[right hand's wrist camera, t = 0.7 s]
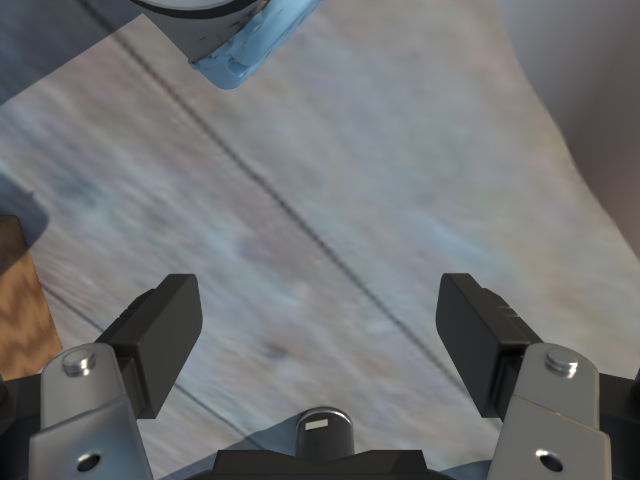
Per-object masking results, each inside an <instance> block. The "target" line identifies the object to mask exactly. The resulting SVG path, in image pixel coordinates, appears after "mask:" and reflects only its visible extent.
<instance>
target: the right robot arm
mask: <svg viewBox="0 0 640 480" xmlns="http://www.w3.org/2000/svg"><path fill="white" fill-rule="evenodd" d="M202 322H203V317H202V309H201V302H200V295H199V289H198V282H197V278H196V276H195V275H194V274H169V275H168V276H167V277H166V278H165V279H164V280H163V281H162V282H161V283H160V284H159V286H158V287H157V288H156V289H151V290H149V291H147V292H145V293H144V294H142V295H140V296H139V297H137V298H136V299H135V300H134V301H133V302H132V303H131V304H130V305H129V306H128V309H125V311H124V312H123V313H122V314H121V315H120V317H119V318H117V319H116V320H115V321H114V322H113V323H112V324H111V325H110V326H109V327H108V328H107V329H106V330H105V331H104V332H103V333H102V334H101V335H100V337H99V338H98V339H97V340H96V341H95V342H94V343H88V344H83V345H80V346H76V347H74V348H71V349H69V350H67V351H64V352H63V353H61V354H59V355H57V356H56V357H54V358H53V359H52V360H51V361H49V362H48V363H47V364H46V366H45V367H44V368H43V370H42V372H41V373H40V374H35V375H31V376H26V377H21V378H16V379H11V380H6V381H4V380H3V378H2V375H1V373H0V480H154V479H153V475H152V472H151V469H150V465H149V462H148V459H147V455H146V452H145V449H144V446H143V442H142V439H141V436H140V432H139V429H138V426H137V422H136V420H137V419H156V417H157V415H158V413H159V411H160V409H161V407H162V405H163V403H164V402H165V400H166V398H167V396H168V394H169V392H170V390H171V388H172V386H173V384H174V383H175V381H176V379H177V377H178V375H179V373H180V371H181V369H182V367H183V366H184V364H185V362H186V360H187V358H188V356H189V354H190V352H191V350H192V348H193V347H194V345H195V343H196V341H197V339H198V337H199V335H200V333H201V329H202ZM436 327H437V331H438V334H439V336H440V338H441V340H442V342H443V344H444V346H445V348H446V350H447V351H448V353H449V355H450V357H451V359H452V361H453V363H454V365H455V367H456V369H457V371H458V373H459V374H460V376H461V378H462V380H463V382H464V384H465V386H466V388H467V390H468V392H469V394H470V396H471V397H472V399H473V401H474V403H475V405H476V407H477V409H478V411H479V413H480V415H481V417H482V418H500V419H501V421H502V422H503V426H502V429H501V432H500V436H499V439H498V442H497V446H496V449H495V452H494V455H493V459H492V462H491V465H490V469H489V472H488V475H487V479H486V480H640V368H639V371H638V373H637V375H636V378H635V380H631V379H626V378H622V377H617V376H612V375H607V374H602V373H599V372H598V370H597V368H596V367H595V366H594V364H593V363H592V362H591V361H589V360H588V359H587V358H586V357H584V356H583V355H581V354H579V353H577V352H576V351H573V350H571V349H569V348H566V347H564V346H560V345H557V344H552V343H544V342H543V341H542V340H541V339H540V338H539V337H538V335H537V334H536V333H535V332H534V331H533V330H532V329H531V328H530V327H529V326H528V325H527V324H526V323H525V322H524V321H523V320H522V319H521V318H520V317H518V314H517V313H516V312H515V311H514V310H513V309H510V306H509V305H508V304H507V303H506V302H505V301H504V300H503V299H502V298H501V297H500V296H499V295H497V294H495V293H493V292H492V291H490V290H488V289H486V288H482V287H481V286H480V285H479V284H478V283H477V282H476V281H475V280H474V279H473V277H472V276H471V275H470V274H468V273H444V274H443V275H442V278H441V282H440V289H439V296H438V303H437V310H436ZM184 480H456V479H454V478H452V477H450V476H448V475H445V474H442V473H440V472H437V471H434V470H431V469H427V466H426V463H425V459H424V456H423V453H422V450H370V451H366V452H362V453H358V454H355V450H354V439H353V424H352V421H351V419H350V418H349V416H348V415H347V414H345V413H344V412H342V411H341V410H338V409H336V408H331V407H318V408H314V409H311V410H309V411H307V412H305V413H304V414H303V415H302V416H301V417H300V418H299V419H298V421H297V424H296V444H295V456H294V457H293V456H289V455H286V454H282V453H278V452H274V451H270V450H218V453H217V456H216V459H215V463H214V466H213V469H209V470H206V471H203V472H200V473H198V474H195V475H192V476H190V477H188V478H186V479H184Z"/></svg>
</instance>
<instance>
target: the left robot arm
mask: <svg viewBox="0 0 640 480" xmlns="http://www.w3.org/2000/svg"><path fill="white" fill-rule="evenodd" d="M127 1H128V2H130V3H131V4H132V5H134V6H135V7H136V8H137V9H139V10H140V11H141V12H142V13H143V14H145V15H146V16H147V17H148V18H149V19H150V20H151V21H152V22H153V23H154V24H155V25H156V26H157V27H158V28H159V29H160V30H161V31H162V32H163V33H164V34H165V35H166V36H167V37H168V38H169V39H170V40H171V41H172V42H173V43H174V44H175V45H176V46H177V47H178V48H179V49H180V50H181V51H182V52H183V54H184V55H185V56H186V57H187V58H188V59H189V60H188V62H189V64H190V65H191V67H192V68H193V69H194V70H199V71H200V72H201V73H202V74H203V75H204V76H205V77H206V78H208V79H209V80H210V81H211V82H212V83H213V84H214V85H215V86H217V87H219V88H221V89H226V90H227V89H233V88H236V87H238V86H239V85H240V84H242V83H243V82H244V81H245V80H246V79H247V78H248V77H250V76H251V75H252V74H253V73H254V72H255V71H256V70H257V69H258V68H259V67H260V66H261V65H262V64H263V63H264V62H265V61H266V60H267V59H268V58H269V57H270V56H271V55H272V54H273V53H274V52H275V51H276V50H277V49H278V48H279V47H280V46H281V45H282V44H283V43H284V42H285V41H286V40H287V39H288V38H289V37H290V35H291V34H292V33H293V32H294V31H295V30H296V29H297V28H298V27H299V26H300V25H301V24H302V23H303V22H304V21H305V19H306V18H307V17H308V16H309V15H310V14H311V13H312V12H313V11H314V10H315V9H316V7H317V6H318V5H319V4H320V3H321V2H322V1H323V0H127Z"/></svg>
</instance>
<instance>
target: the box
mask: <svg viewBox="0 0 640 480" xmlns="http://www.w3.org/2000/svg"><path fill="white" fill-rule="evenodd" d="M61 350H62V346H61V343H60V340H59V337H58V334H57V331H56V328H55V326H54V323H53V320H52V317H51V314H50V311H49V308H48V305H47V303H46V300H45V297H44V294H43V291H42V288H41V285H40V282H39V279H38V277H37V274H36V271H35V268H34V265H33V262H32V259H31V256H30V254H29V251H28V248H27V245H26V242H25V239H24V236H23V233H22V231H21V228H20V225H19V222H18V219H17V216H0V373H1V375H2V378H3V380H4V381H6V380H11V379H16V378H21V377H26V376H31V375H35V374H36V373H37V372H38V371H39V370H41V369H42V368H43V367H44V366H45V365H46V364H47V363H48V362H49V361H50V360H51V359H52V358H53V357H54V356H55V355H56V354H57V353H58V352H59V351H61Z"/></svg>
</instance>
